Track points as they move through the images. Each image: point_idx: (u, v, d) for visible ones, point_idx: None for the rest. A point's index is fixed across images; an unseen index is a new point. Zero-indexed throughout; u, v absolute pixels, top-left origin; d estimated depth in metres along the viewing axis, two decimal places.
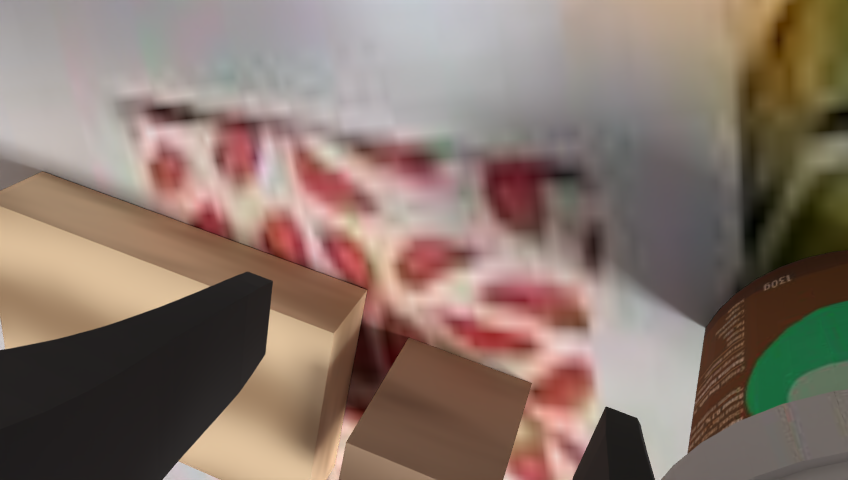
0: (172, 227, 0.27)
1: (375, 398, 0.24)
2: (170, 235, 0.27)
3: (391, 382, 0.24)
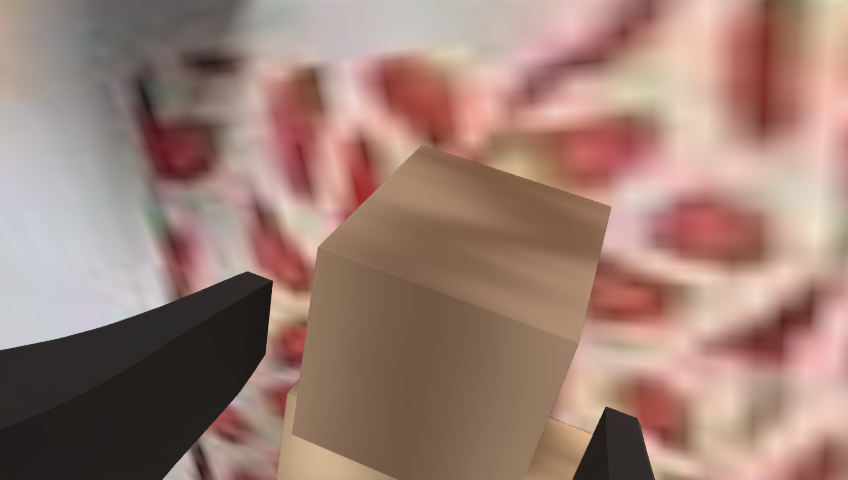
0: None
1: None
2: None
3: None
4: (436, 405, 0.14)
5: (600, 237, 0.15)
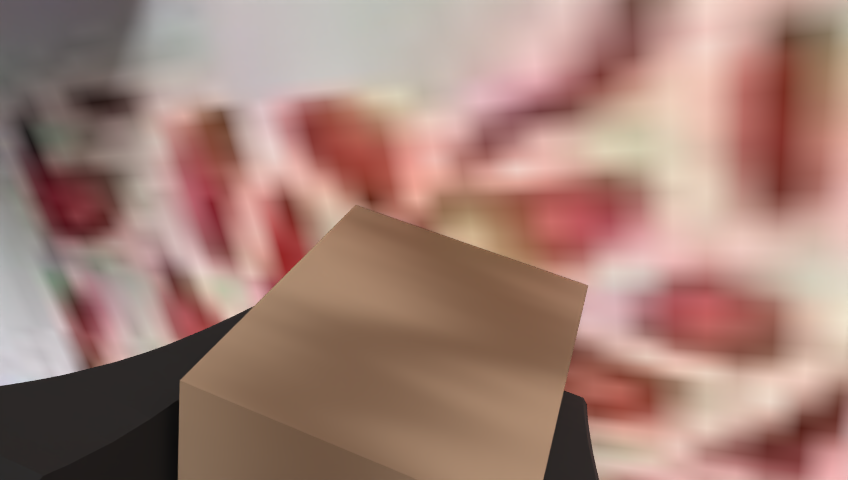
0: None
1: None
2: None
3: None
4: None
5: (571, 336, 0.12)
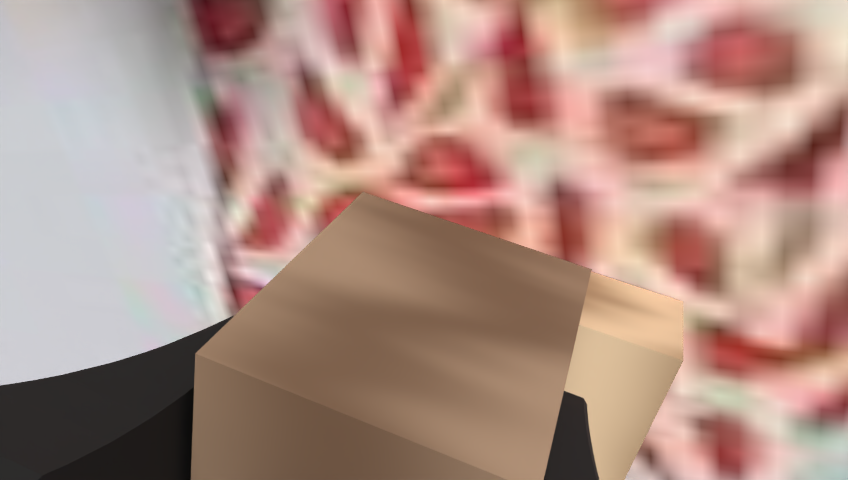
0: None
1: None
2: None
3: None
4: None
5: (576, 317, 0.12)
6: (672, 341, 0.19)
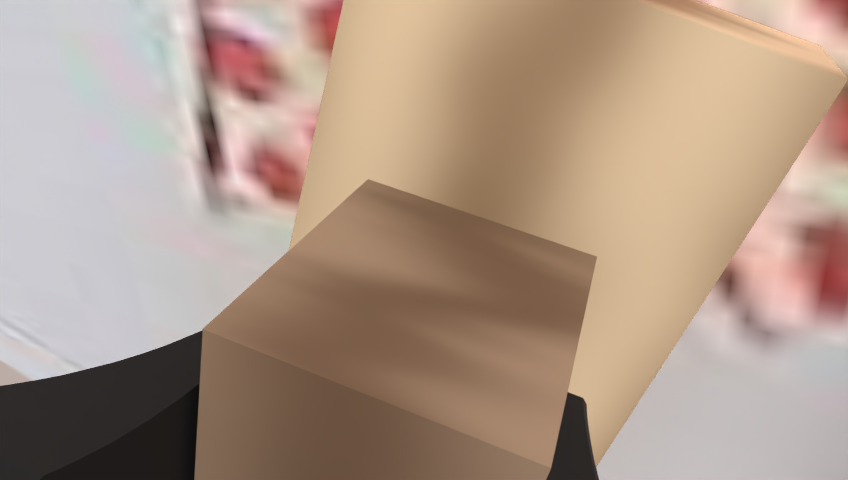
0: None
1: None
2: None
3: None
4: None
5: (582, 301, 0.12)
6: (826, 64, 0.13)
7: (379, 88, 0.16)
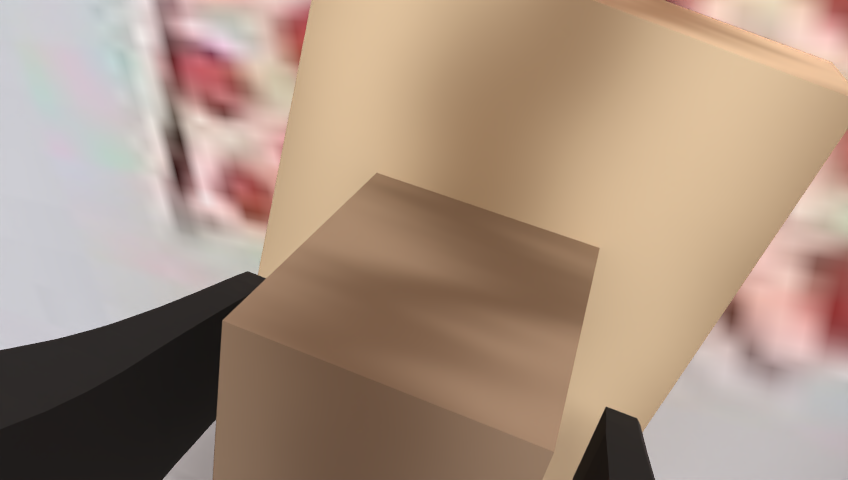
0: None
1: None
2: None
3: None
4: None
5: (585, 291, 0.13)
6: (839, 85, 0.12)
7: (350, 107, 0.15)
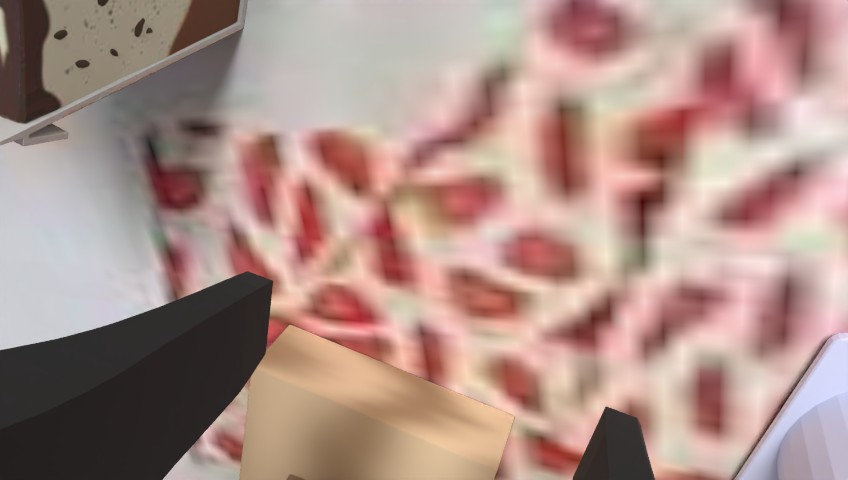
0: None
1: None
2: None
3: None
4: None
5: None
6: (494, 453, 0.25)
7: (273, 445, 0.28)
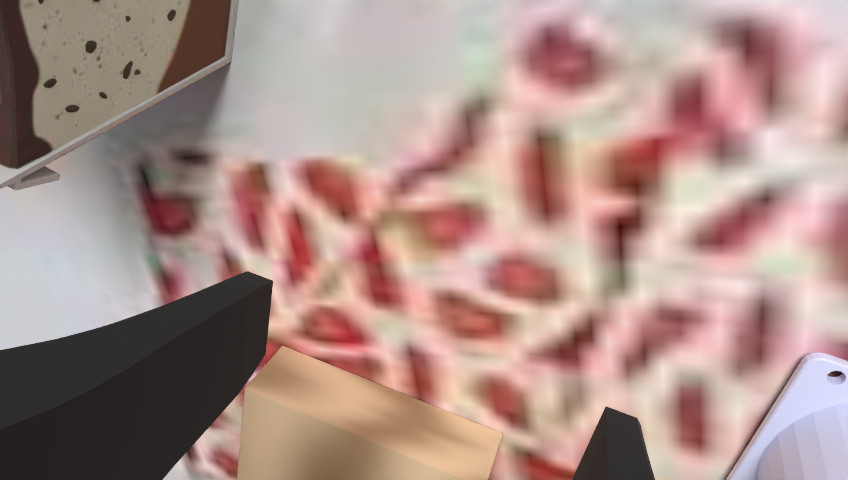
0: None
1: None
2: None
3: None
4: None
5: None
6: (482, 471, 0.26)
7: (267, 464, 0.29)
